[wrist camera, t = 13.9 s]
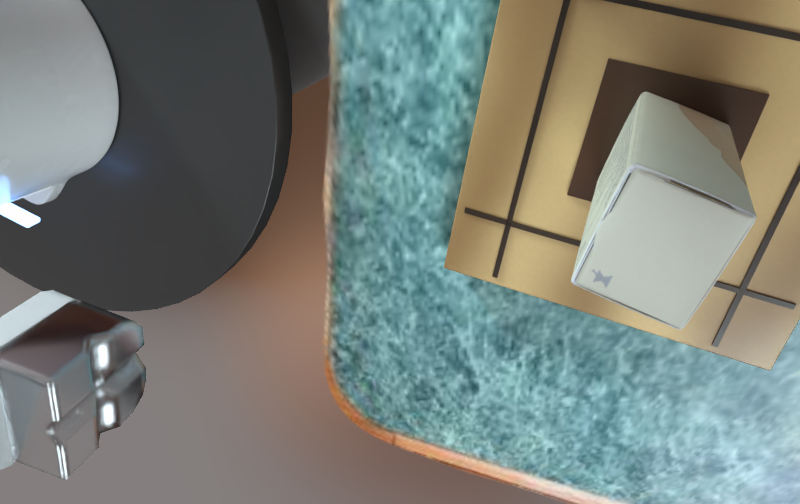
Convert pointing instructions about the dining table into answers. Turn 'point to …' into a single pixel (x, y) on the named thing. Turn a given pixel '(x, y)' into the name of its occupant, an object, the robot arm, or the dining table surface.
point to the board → (597, 133)
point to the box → (665, 212)
